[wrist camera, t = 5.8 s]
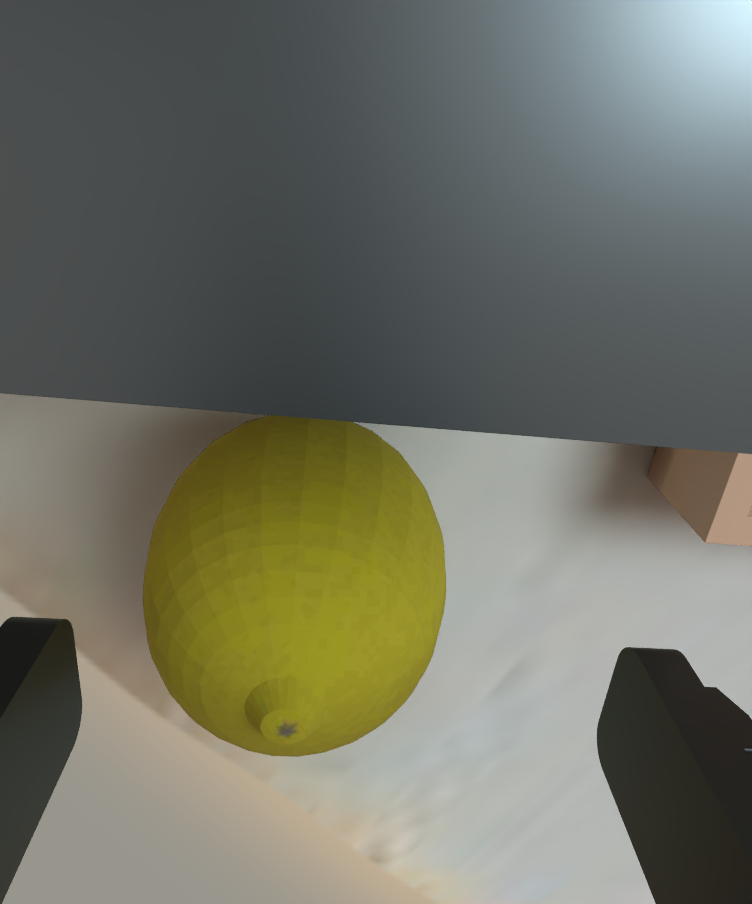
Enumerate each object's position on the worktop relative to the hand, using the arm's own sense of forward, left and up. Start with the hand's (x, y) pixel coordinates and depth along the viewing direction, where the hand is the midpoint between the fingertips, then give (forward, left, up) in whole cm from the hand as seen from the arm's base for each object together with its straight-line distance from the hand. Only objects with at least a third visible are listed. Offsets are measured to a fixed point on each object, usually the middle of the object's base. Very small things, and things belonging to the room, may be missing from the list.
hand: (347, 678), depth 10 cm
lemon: (-1, 0, -7) cm, 7 cm away
